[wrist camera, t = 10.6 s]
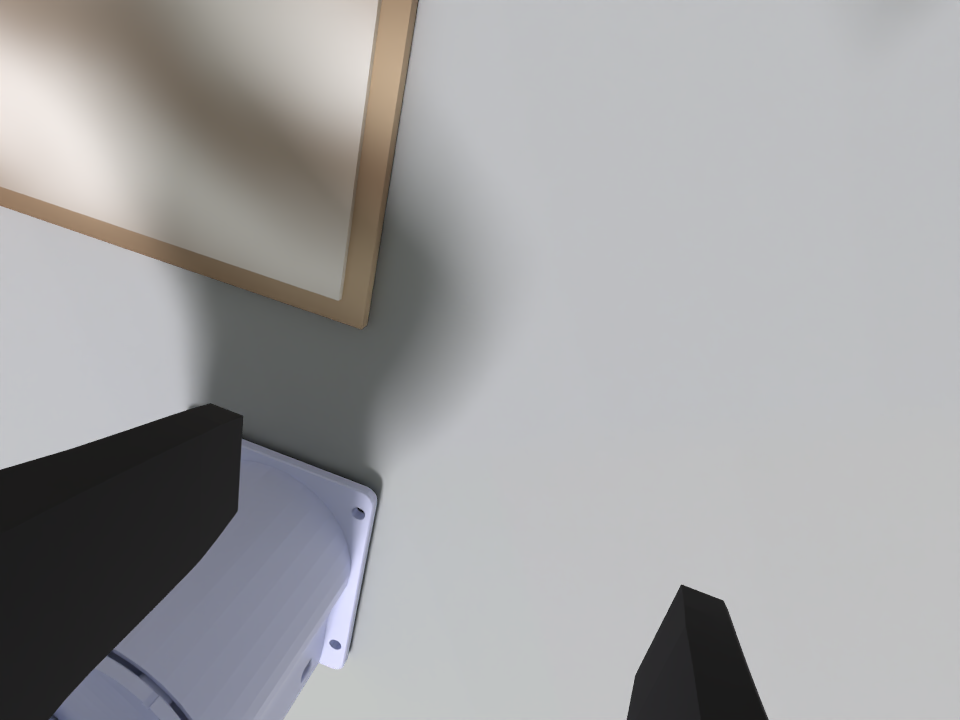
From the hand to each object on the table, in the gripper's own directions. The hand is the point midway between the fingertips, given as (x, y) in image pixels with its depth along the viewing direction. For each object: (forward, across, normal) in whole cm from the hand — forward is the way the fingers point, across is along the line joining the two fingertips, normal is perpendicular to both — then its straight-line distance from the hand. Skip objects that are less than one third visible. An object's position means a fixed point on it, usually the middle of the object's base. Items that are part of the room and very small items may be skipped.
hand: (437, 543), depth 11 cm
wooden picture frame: (+10, +13, -4) cm, 17 cm away
